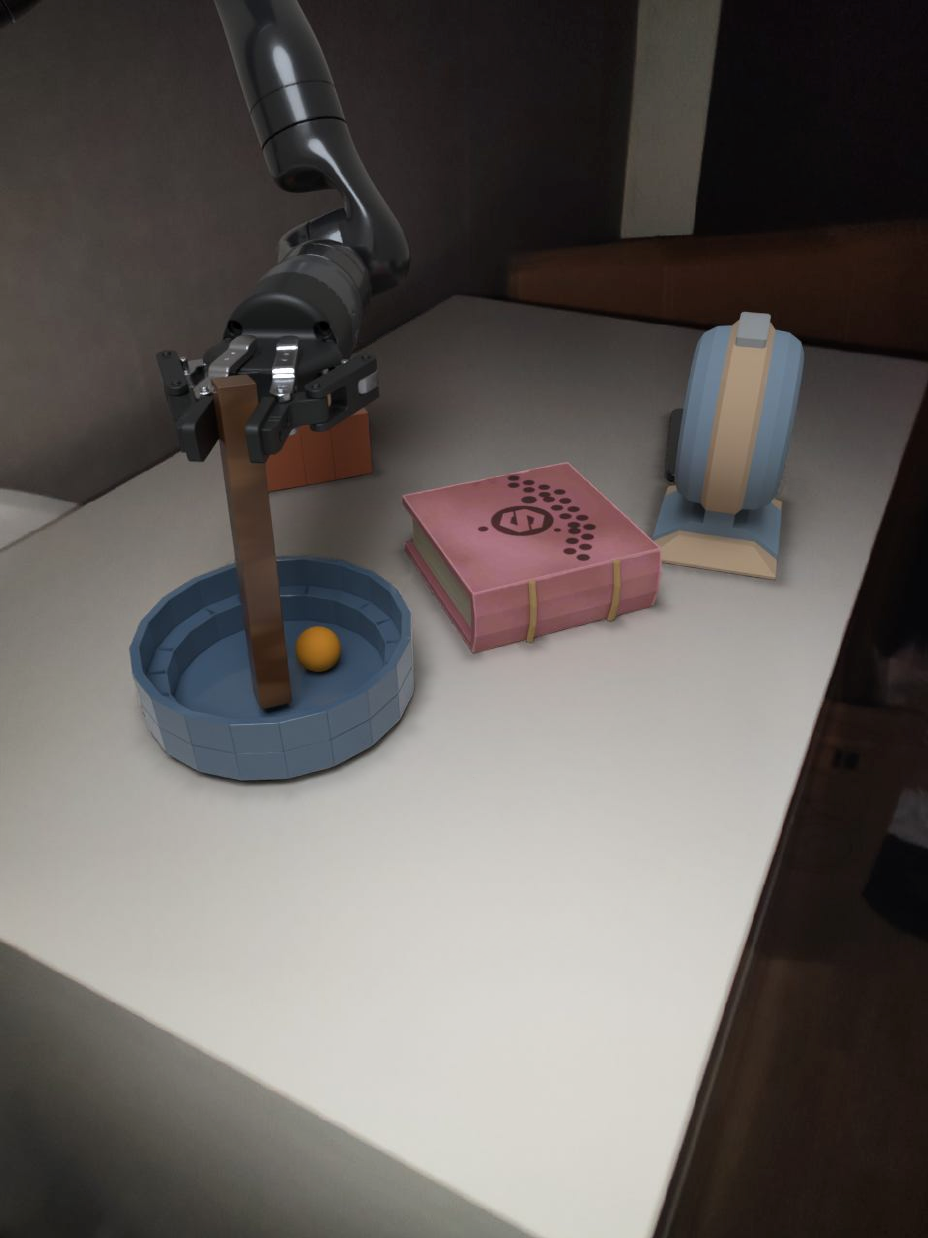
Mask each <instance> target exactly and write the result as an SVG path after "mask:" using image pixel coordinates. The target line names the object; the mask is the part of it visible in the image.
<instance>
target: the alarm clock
mask: <svg viewBox="0 0 928 1238" xmlns="http://www.w3.org/2000/svg"><path fill="white" fill-rule="evenodd" d="M771 317H772V316H771V314H770V313H760V312H750V311H749V312H748V311H743V312H741V313H740V317H739V319H738V320H737V321H736V322H734V323H733V324H731V325H717V326H715V327H713V328H711V329H709V330H707V331H704V332H703V334H702V335H701V337H700V338H699V339H698V341H697V343H696V347H695V351H694V354H693V359H692V363H691V367H690V372H689V378H688V382H687V388H686V394H685V399H684V405H683V408H684V410H683V416H682V422H681V428H680V435H679V442H678V449H677V457H676V466H675V478H674V480H673V481H674V484H673V485H667V488H666V492H665V494H664V498H663V500H662V504H661V508H660V510H659V511H660V512H659V514H658V518H657V521H656V524H655V528H654V531H653V535H652V538H651V539H652V540H653V541H654V542H655V543H656V544H657V545H658V546H659V547H660V548H661V560H662V563H664V564H671V565H676V566H683V567H684V566H685V567H690V568H697V569H703V570H710V571H716V572H720V573H721V572H722V573H728V574H734V575H741V576H748V577H754V578H760V579H767V580H773V581H776V578H777V568H778V559H779V558H778V557H779V550H780V540H781V538H780V537H781V527H782V526H781V524H782V515H783V514H782V512H783V511H782V507H783V501H782V500H779V499H776V498H775V497H776V496H777V494H778V492H779V490H780V486H781V482H782V478H783V475H784V470H785V465H786V461H787V458H788V453H789V448H790V444H791V438H792V433H793V428H794V423H795V419H796V413H797V409H798V408H797V407H798V402H799V397H800V390H801V385H802V378H803V372H804V364H805V363H804V362H805V351H804V348H803V345H802V341H801V340H800V339H799V338H797V337H796V336H795V335H793V334H792V333H791V332H790V331H784V330H779V329H776V328H775V327H774V325H773V324H772V322H771Z"/></svg>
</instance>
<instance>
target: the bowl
mask: <svg viewBox="0 0 928 1238" xmlns="http://www.w3.org/2000/svg"><path fill="white" fill-rule="evenodd" d="M276 563H277V571H278V580H279V589H280V598H281V607H282V616H283V625H284V633H285V642H286V651H287V660H288V669H289V678H290V687H291V696H292V702H291V703H287V704H283V705H278V706H274V707H270V708H266V709H260V706H259V704H258V702H257V700H256V698H255V695H254V693H253V685H252V678H251V671H250V664H249V656H248V649H247V642H246V634H245V627H244V620H243V612H242V605H241V598H240V591H239V583H238V576H237V569H236V562H233V563H229V564H227V565H226V564H225V565H224V566H221V567H219V568H216V569H213V570H211V571H208V572H206V573H203V574H199V575H197V576H195V577H192V578H191V579H189V580H188V581H186V582H184V583H183V584H182V585H180V586H178V587H177V588H175V589H174V590H172V591H171V592H169V593H167V594H165V595H164V596H162V597H161V598H160V599H159V601H158V602H156V604H155V605H154V606H153V607H152V608H151V609H150V610H149V611H148V612H147V613H146V615H144V617H143V618H141V620H140V621H139V623H138V626H137V628H136V631H135V633H134V636H133V638H132V640H131V643H130V646H129V649H128V650H129V658H130V665H131V667H130V668H131V675H132V679H133V681H134V685H135V689H136V691H137V696H138V698H139V701H140V705H141V709H142V712H143V715H144V719H145V722H146V726H147V728H148V730H149V732H150V733H151V734H152V736H153V737H154V738H155V739H156V741H157V742H158V744H159V745H160V746H161V748H162V749H163V750H164V752H165V753H166V754H167V755H168V756H171V757H172V758H174V759H176V760H177V761H179V762H181V763H183V764H185V765H187V767H190V768H192V769H194V770H195V771H198V772H200V773H203V774H208V775H213V776H218V777H223V778H228V779H233V780H237V781H263V780H264V781H265V780H266V781H267V780H288V779H293V778H297V777H300V776H304V775H307V774H311V773H315V772H318V771H322V770H327V769H330V768H333V767H335V766H338V765H340V764H341V763H343V762H346V761H347V760H349V759H351V758H352V757H354V756H357V755H358V754H360V753H363V751H365V750H368V749H369V748H371V747H373V746H374V745H375V744H376V743H378V741H379V740H380V739H381V738H383V737H384V736H385V735H386V733H388V732H389V731H390V730H391V729H392V728H393V727H394V726H395V725H396V724H397V723H398V722H399V721H400V720H401V718H402V717H403V714H404V712H405V710H406V708H407V707H408V704H409V702H410V700H411V699H412V696H413V694H414V690H415V686H414V685H415V684H414V683H415V681H414V680H415V677H414V676H415V668H414V667H415V663H414V645H413V643H414V642H413V627H412V625H413V624H412V613H411V611H410V609H409V607H408V605H407V603H406V602H405V601H406V600H404V598H403V596H402V594H401V592H400V591H399V589H398V588H396V586H394V585H393V584H392V583H390V582H388V581H387V580H386V579H385V578H383V577H382V576H381V575H379V573H377V572H375V571H373V570H370V569H369V568H365V567H363V566H360V565H357V564H354V563H352V562H349V561H347V560H344V559H337V558H332V557H331V558H330V557H323V556H316V555H311V554H309V555H308V554H299V555H295V554H294V555H276ZM315 626H321V627H326V628H328V629H330V630H332V631H333V632H334V633H335V634H336V635H337V637H338V638H339V640H340V643H341V654H340V657H339V660H338V661H337V663H336V664H335V665H334V666H333V667H332V668H330V669H328V670H326V671H322V672H314V671H310V670H308V669H306V668H305V667H303V666H302V665H301V664H300V663H299V661H298V659H297V657H296V653H295V645H296V641H297V639H298V637H299V636H300V635H301V633H302V632H304V631H305V630H306V629H308V628H311V627H315Z"/></svg>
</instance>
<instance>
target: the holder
mask: <svg viewBox="0 0 928 1238" xmlns="http://www.w3.org/2000/svg"><path fill="white" fill-rule="evenodd" d="M327 396H328V405H329V406H330V404H331V395H330V394H329V395H327ZM372 459H373V458H372V449H371V435H370V422H369V413H368V411H367V409H366V407H364V408H362V409H361V410H359V411H358V412H356V413H354V414H353V415H351V416H350V417H348V418H347V419H345V420H343V421H342V422H340V423H339V424H337V425H336V426H334V427H332V428H331V429H329V430H327V431H324V432H315V431H312V430H310V425H303V426H299V427H298V432H297V433H296V434H294V435H291V436H288V438H287V440H286V442H285V444H284V445H283V448H282V450H281V451H280V452H278V453H277V454H275V455H270V456H269V458H268V460H267V462H266V463H265V465H266V474H267V483H268V492H269V493H271V492H277V491H281V490H282V491H283V490H287V489H292V488H298V487H304V486H309V485H316V484H321V483H325V482H331V481H336V480H342V479H347V478H353V477H359V476H365V475H370V474H373V460H372Z"/></svg>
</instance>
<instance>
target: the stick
mask: <svg viewBox="0 0 928 1238" xmlns="http://www.w3.org/2000/svg"><path fill="white" fill-rule="evenodd" d="M211 386H212V394H213V400H214V407H215V415H216V422H217V429H218V436H219V440H218V445H219V451H220V452H219V453H220V459H221V466H222V473H223V479H224V487H225V488H224V489H225V495H226V501H227V510H228V518H229V524H230V525H229V526H230V531H231V538H232V539H231V541H232V546H233V555H234V561H235V563H236V569H237V576H238V583H239V591H240V598H241V605H242V612H243V620H244V627H245V634H246V642H247V649H248V656H249V664H250V671H251V678H252V685H253V693H254V695H255V698H256V700H257V702H258V704H259V706H260V709H266V708H270V707H274V706H278V705H283V704H287V703H291V702H292V696H291V687H290V678H289V669H288V660H287V651H286V642H285V633H284V625H283V616H282V607H281V598H280V589H279V580H278V571H277V563H276V556H277V554H276V547H275V546H276V544H275V537H274V529H273V519H272V510H271V501H270V492H268V483H267V474H266V465H265V463H251V462H250V459H249V454H248V448H247V442H246V436H245V426H246V423H247V421H248V420H249V418H250V416H251V415H252V413H253V412H254V410H255V408H256V407H257V405H258V404H259V403H258V394H257V385H256V383H255V382H254V381H253V380H252V379H251V378H250V377H249V376H248V375H247V374H246V375H236V376H227V377H218V378H211Z"/></svg>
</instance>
